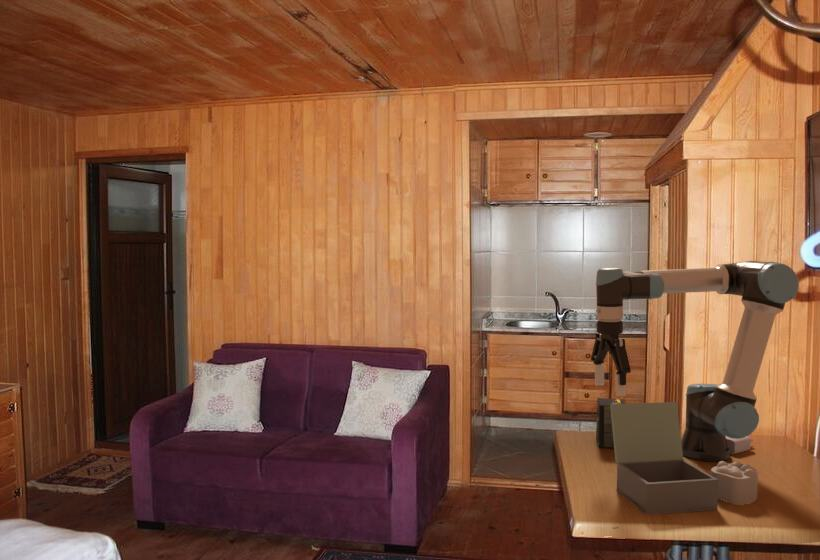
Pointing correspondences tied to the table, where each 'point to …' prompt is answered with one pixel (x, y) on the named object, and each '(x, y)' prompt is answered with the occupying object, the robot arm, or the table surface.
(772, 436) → the table surface
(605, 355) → the robot arm
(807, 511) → the table surface
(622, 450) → the lid
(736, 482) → the lumpy-topped squat cylinder
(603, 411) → the tampon box
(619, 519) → the table surface
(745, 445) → the charger
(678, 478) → the storage box
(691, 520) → the table surface
